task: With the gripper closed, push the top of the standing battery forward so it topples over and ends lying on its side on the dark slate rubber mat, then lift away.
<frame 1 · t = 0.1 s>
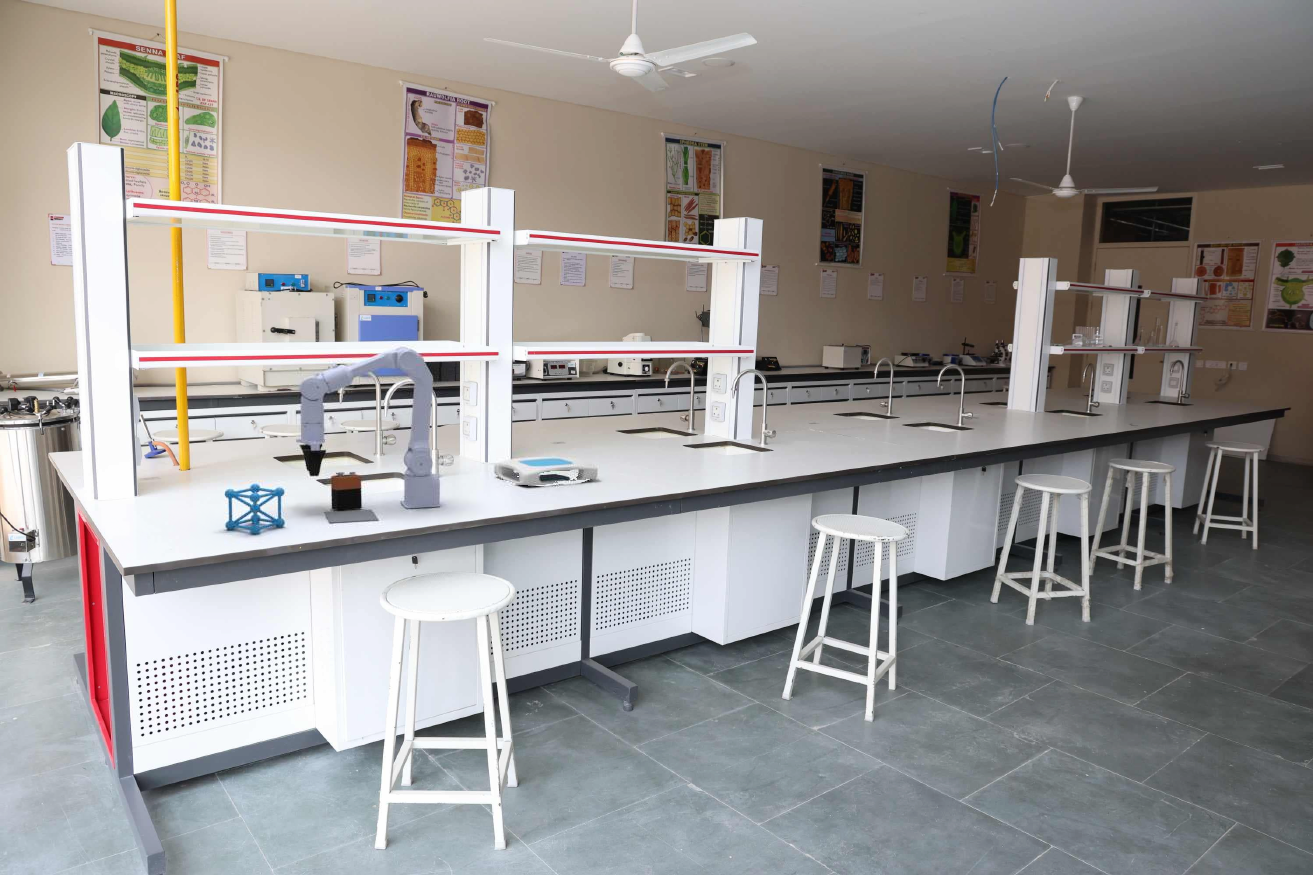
hand: (312, 473, 233), 10 cm above the counter, fingers open, 7 cm apart
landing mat: (351, 516, 229), on the counter
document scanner: (545, 480, 293), on the counter
molecular structure: (255, 529, 213), on the counter
battery: (346, 509, 237), on the counter, touching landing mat
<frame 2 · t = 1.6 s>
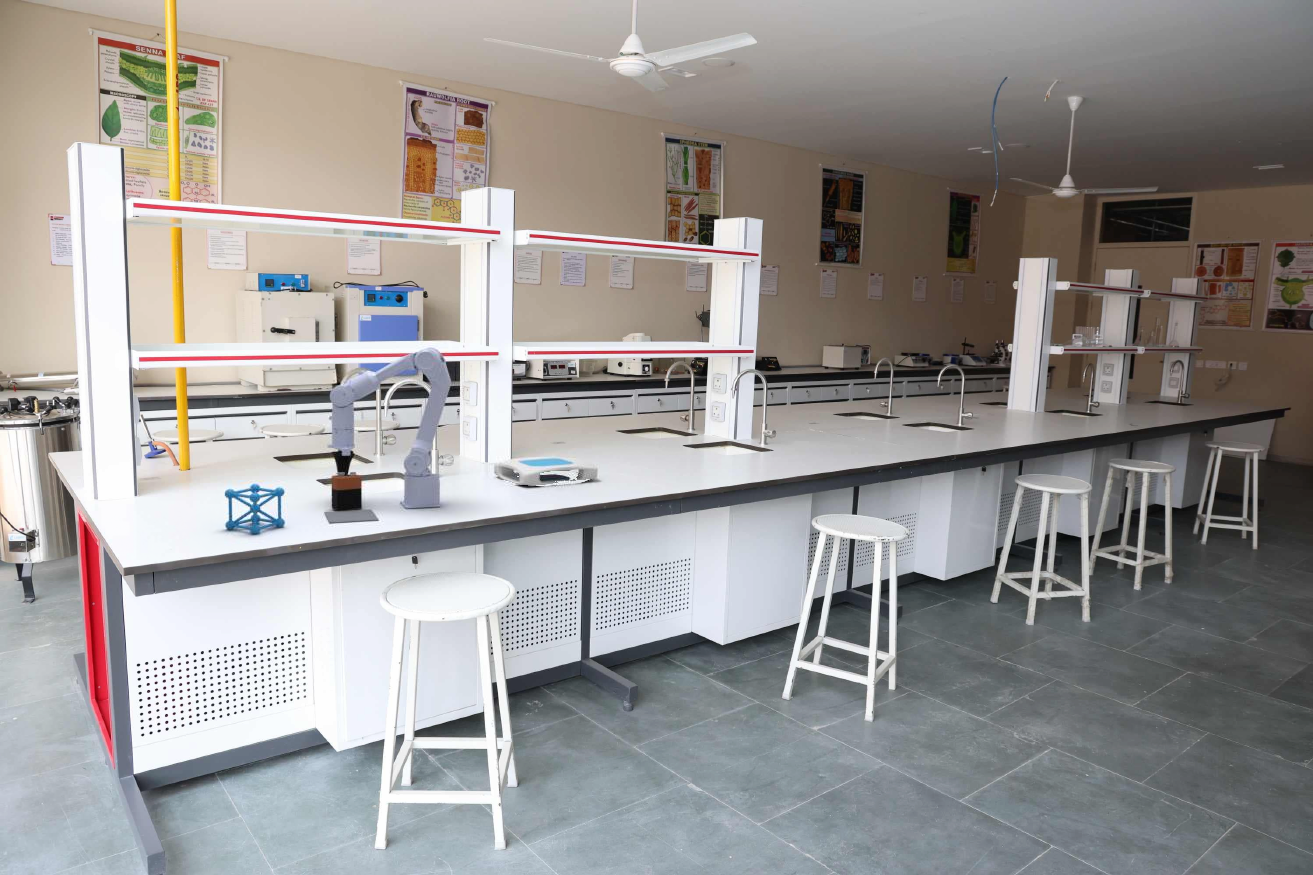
hand: (342, 477, 243), 7 cm above the counter, fingers closed
nothing on the counter moved.
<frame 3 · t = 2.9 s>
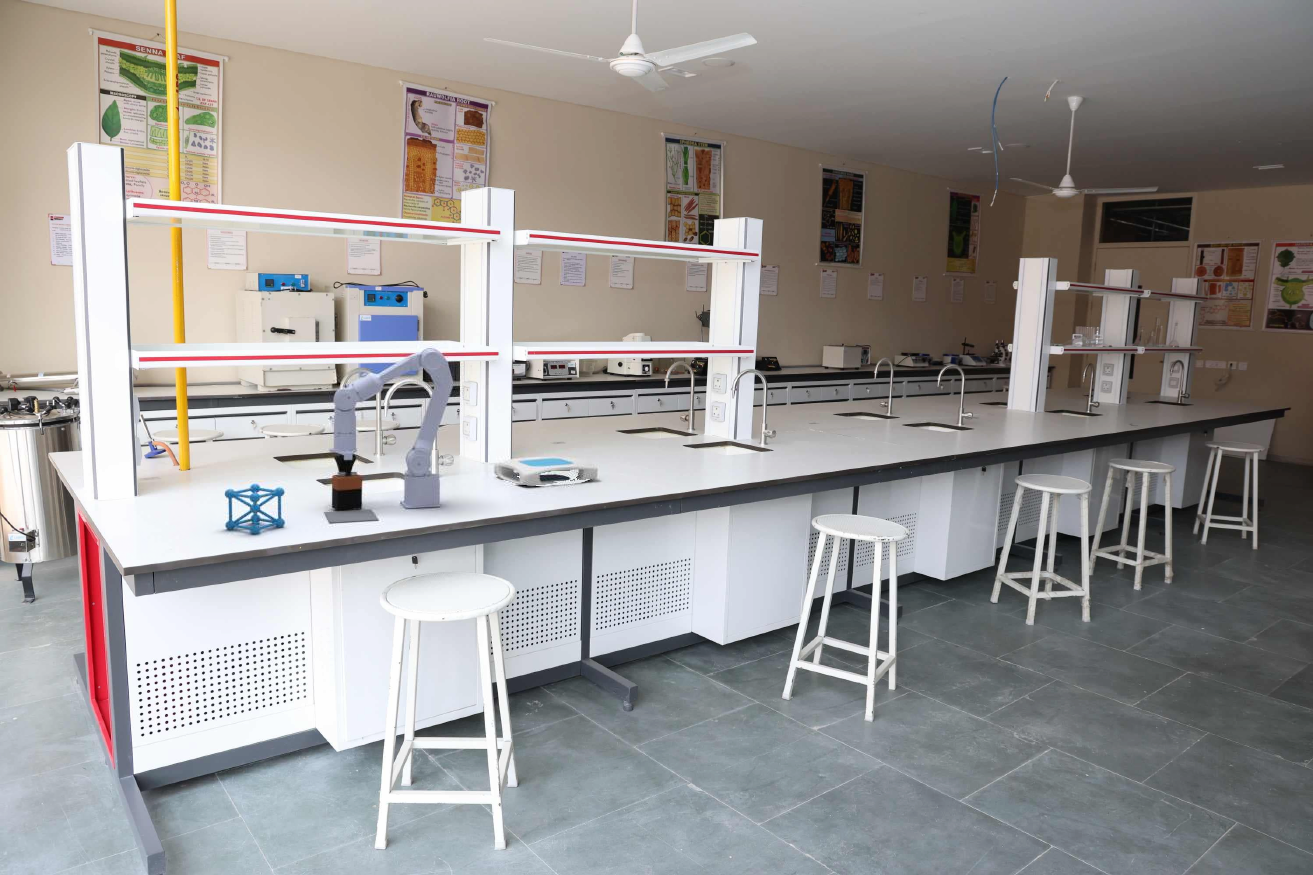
hand: (344, 481, 239), 7 cm above the counter, fingers closed
battery: (346, 509, 237), on the counter, touching gripper, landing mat
everything else where it was.
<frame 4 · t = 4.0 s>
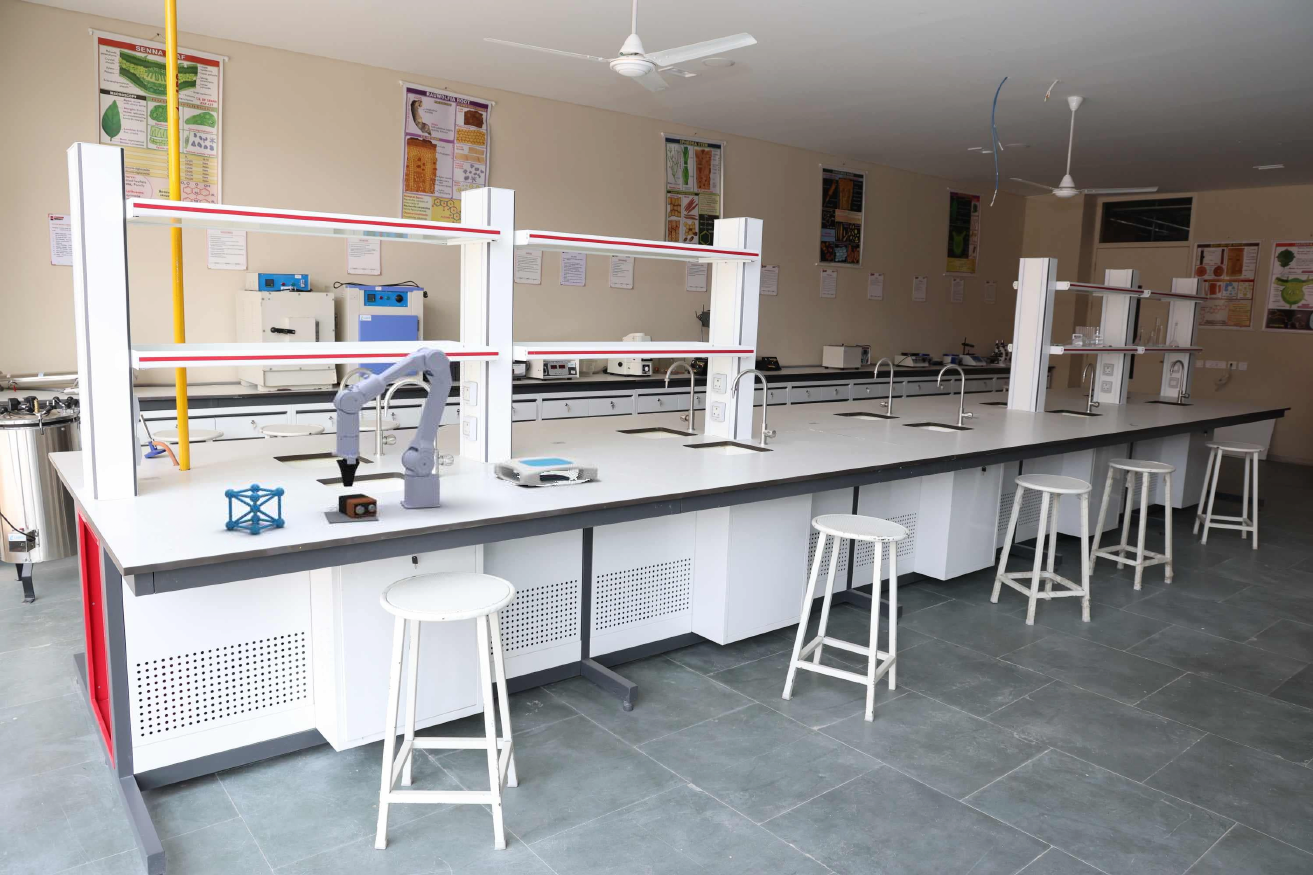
hand: (347, 486, 234), 7 cm above the counter, fingers closed
battery: (350, 502, 235), point 2 cm above the counter, touching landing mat
everything else where it was.
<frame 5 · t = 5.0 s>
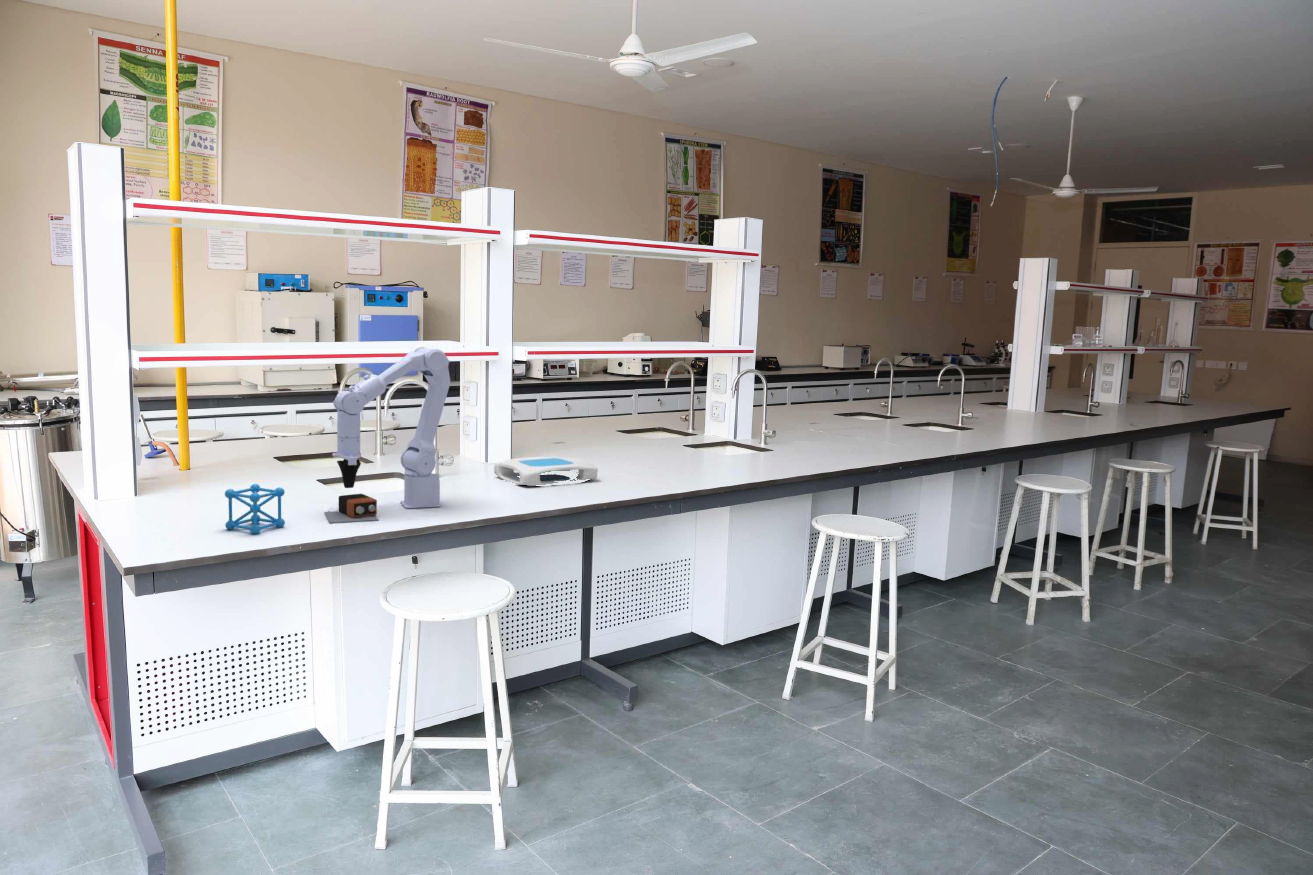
hand: (348, 487, 232), 7 cm above the counter, fingers closed
nothing on the counter moved.
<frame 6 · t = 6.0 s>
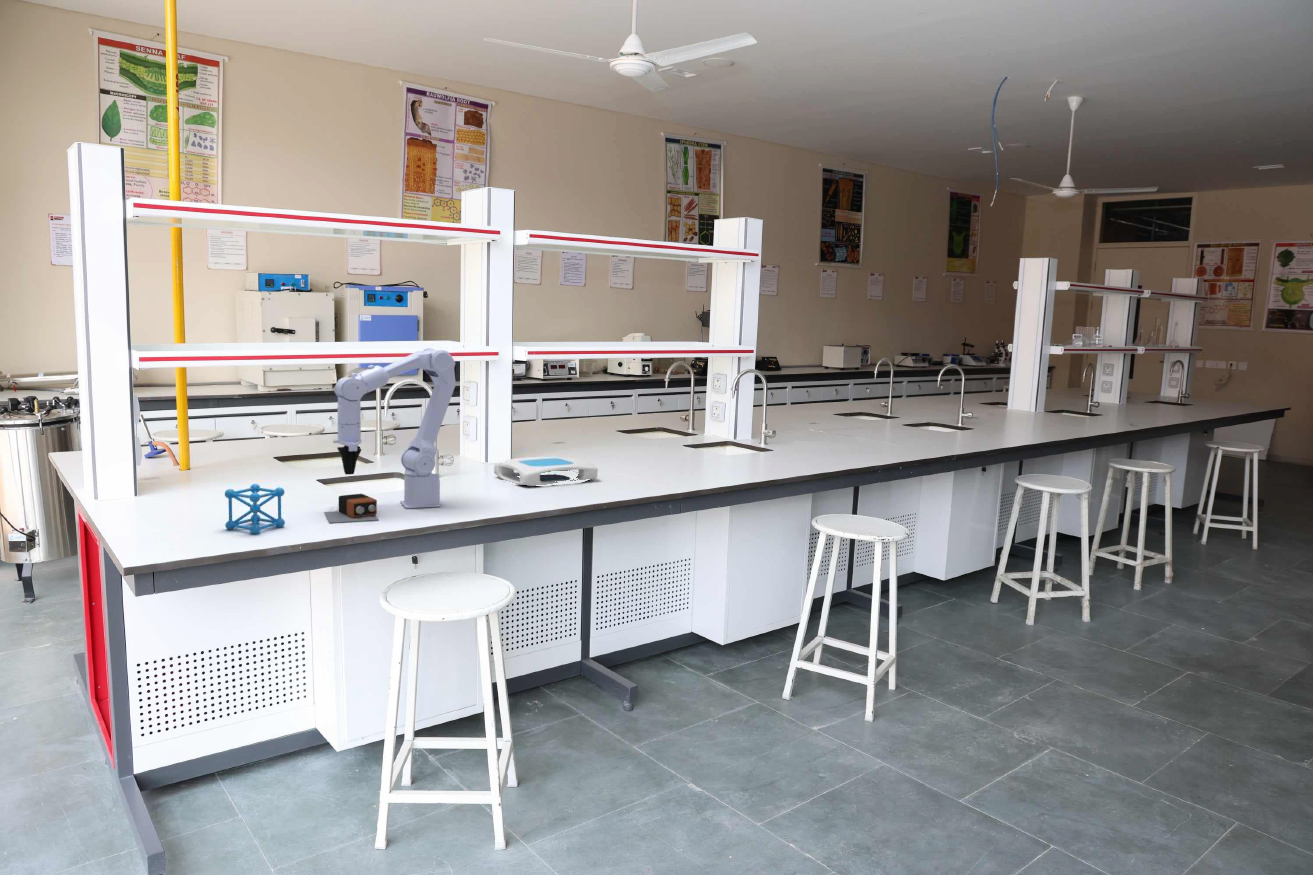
hand: (349, 473, 233), 10 cm above the counter, fingers closed
nothing on the counter moved.
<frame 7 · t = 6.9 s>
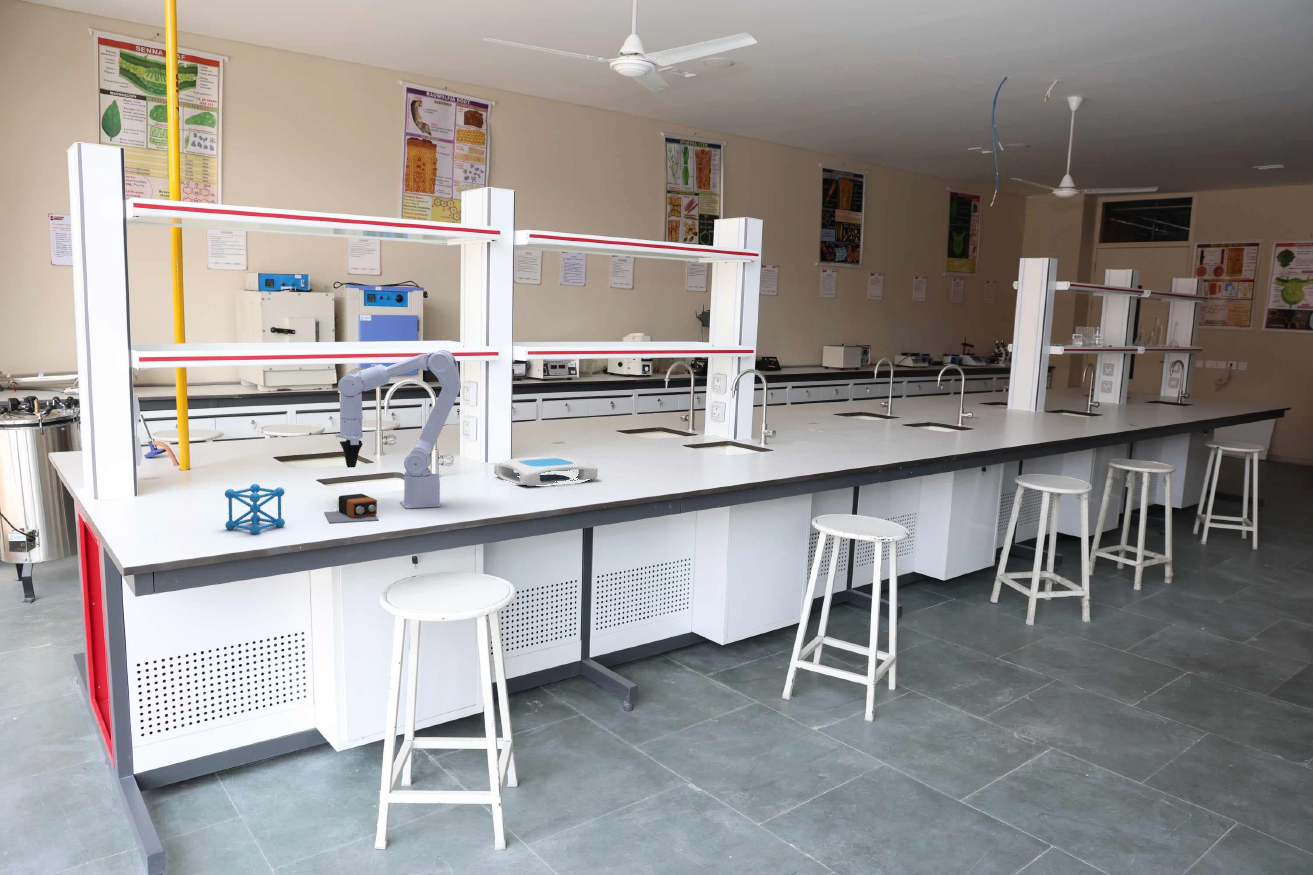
hand: (351, 467, 243), 10 cm above the counter, fingers closed
nothing on the counter moved.
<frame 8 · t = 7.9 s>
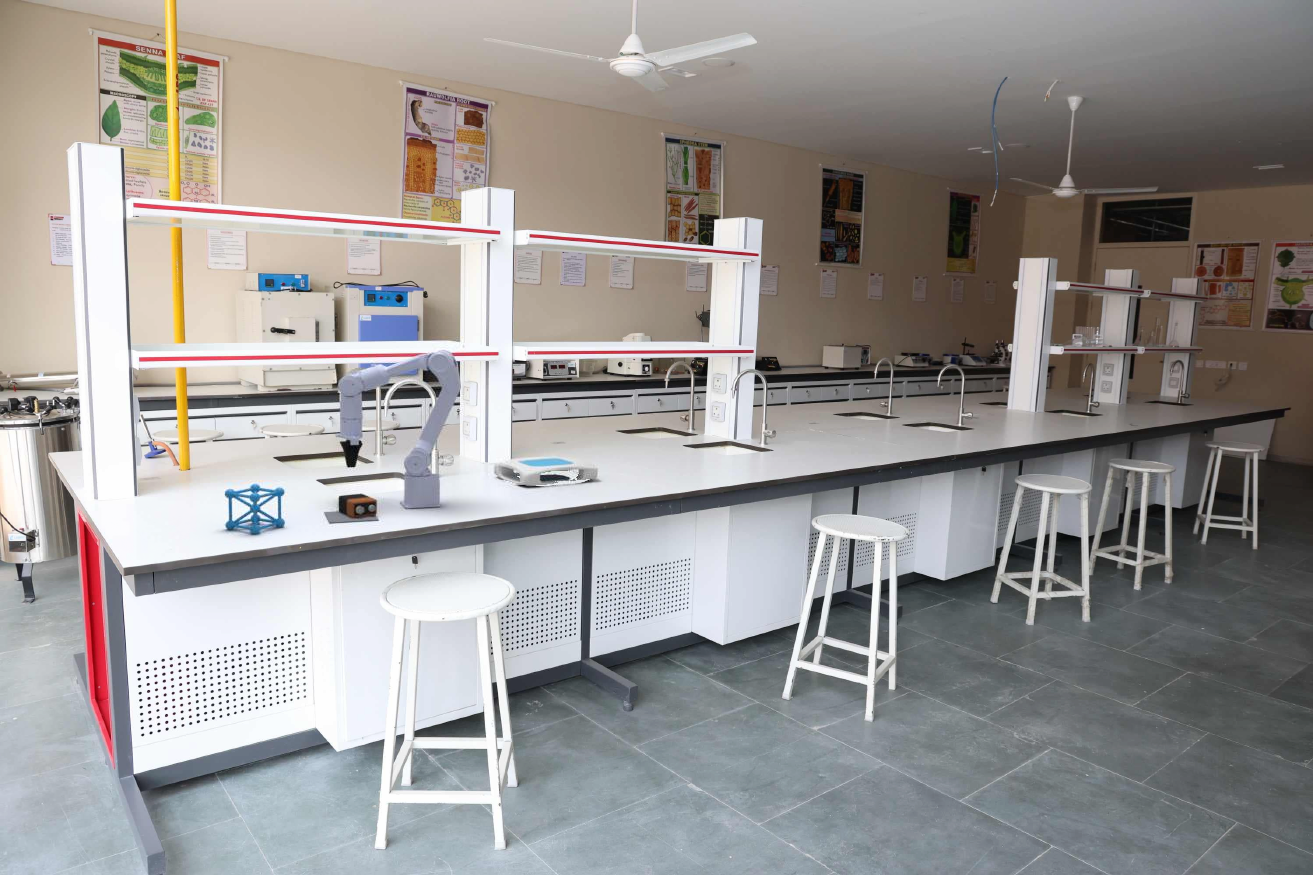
hand: (351, 467, 243), 10 cm above the counter, fingers closed
nothing on the counter moved.
at the end: battery tilted 90°; battery inside the target area (1.6 cm from its centre), point 2.5 cm above the counter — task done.
